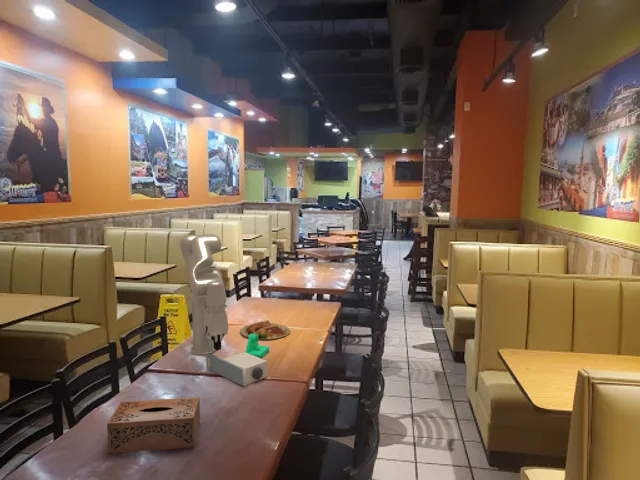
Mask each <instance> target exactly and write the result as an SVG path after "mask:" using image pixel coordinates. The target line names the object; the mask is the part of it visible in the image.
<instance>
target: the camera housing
mask: <svg viewBox="0 0 640 480" xmlns="http://www.w3.org/2000/svg"><path fill="white" fill-rule="evenodd" d="M223 359H224V360H226V361H228V362H230V363H233V364H235V365H237V366H239V367H242V368H244V369H246V386H247V385H249V384H252V383H255V382H258V381H261V380H262V379H264V378H265V379H266V378H267V377H268V360H265V359H263V358H262V357H260V358H258V357H256V356H253V355H251V354H248V353H246V351H243V352H240V353H237V354H234V355H231V356H228V357H224V358H223Z"/></svg>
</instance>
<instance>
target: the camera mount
mask: <svg viewBox="0 0 640 480" xmlns="http://www.w3.org/2000/svg"><path fill="white" fill-rule="evenodd" d="M269 351H270V346H268V345H259V337H258V334H250V335H249V337H248V340H247V344H246V349H245V352H246V353H248V354H251V355H253V356H256V357H258V358H264V357H266V355H267V354H268V352H269Z"/></svg>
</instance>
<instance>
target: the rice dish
mask: <svg viewBox="0 0 640 480" xmlns="http://www.w3.org/2000/svg"><path fill="white" fill-rule="evenodd" d="M285 330H286V331H285ZM239 332H240V333H241V334H242V335H243V336H244V337H247V338H249V335H250V334H258V337H259V338H258V340H268V339H271V340H276V339H280V338H283V337H286V336H288V335H289V334H290V333H291V329H290V328H289V327H287V326H286V325H283V324H280V323H273V322H270V320H264V321H263V320H262V321H257V322H254V323H251V324H248V325H245V326H242V327H241V328H240V329H239Z"/></svg>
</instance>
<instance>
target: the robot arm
mask: <svg viewBox="0 0 640 480" xmlns="http://www.w3.org/2000/svg"><path fill="white" fill-rule="evenodd" d="M179 248H180V252H181V255H182V257H183V259H184V261H185V263H186V266H187V271H188V273H187V274H188V279H189V285H190V289H191V293H190V294H189V301H190V302H189V303H190V306H191V315H192V316H191V317H192V339H193V340H192V341H191V344H192V347H191V348H190V350H189V351H190V354H192V355H194V356H207V355H206V353H210V354H214V353H215V352H216V351H217V352H218V351H221V350H222V341H223V338H224V337H225V336H227V335H228V334H229V332H228V331H229V320H228V319H229V318H228V315H227V311H226V308H227V307H228V305H227V304H226V302H227V293H226V288H225V284H224V278H223V274H222V271H221V270H220V269H219V268H217V267H212V266H213V264H214V257H213V254H212V253H219V252H221V250H222V242H221V238H220V237H219V236H218V235H217V234H213V233H208V234H207V233H203V234H202V233H201V234H188V235H184V236H182V237H181V238H180V241H179Z"/></svg>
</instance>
